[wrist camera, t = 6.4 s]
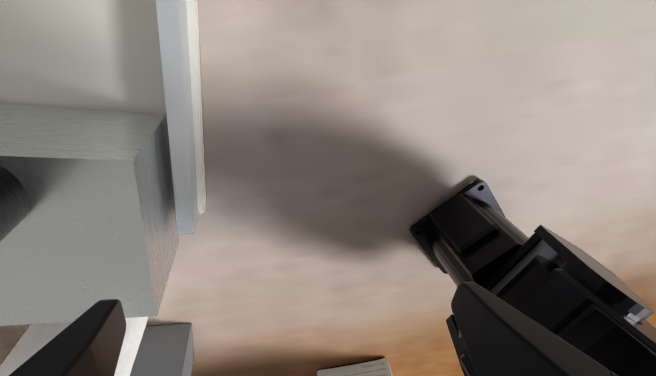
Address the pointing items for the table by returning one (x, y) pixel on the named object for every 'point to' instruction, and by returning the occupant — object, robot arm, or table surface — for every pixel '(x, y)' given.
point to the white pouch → (46, 332)
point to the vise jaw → (83, 212)
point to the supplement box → (360, 369)
